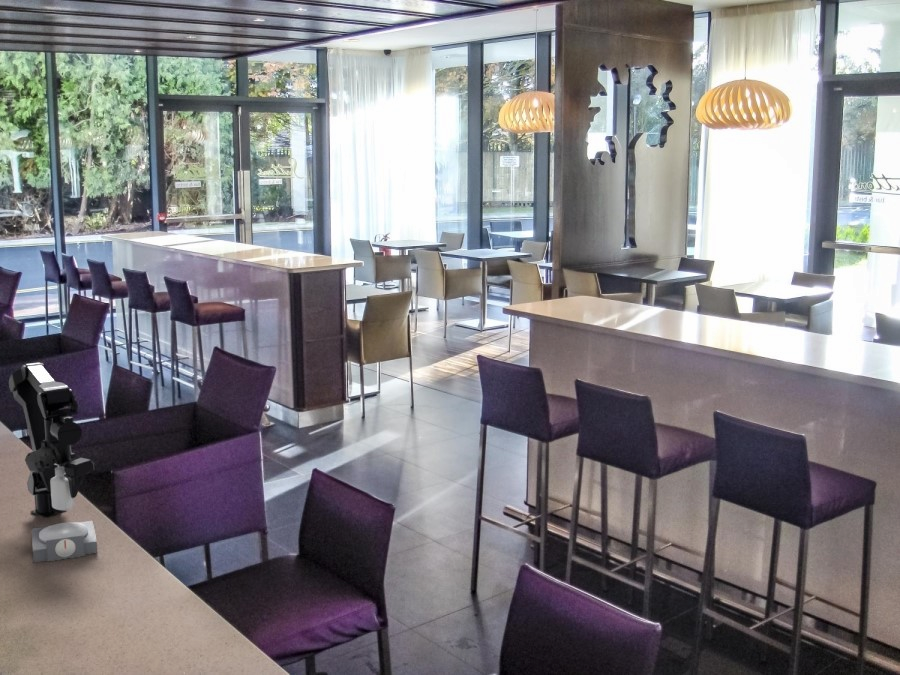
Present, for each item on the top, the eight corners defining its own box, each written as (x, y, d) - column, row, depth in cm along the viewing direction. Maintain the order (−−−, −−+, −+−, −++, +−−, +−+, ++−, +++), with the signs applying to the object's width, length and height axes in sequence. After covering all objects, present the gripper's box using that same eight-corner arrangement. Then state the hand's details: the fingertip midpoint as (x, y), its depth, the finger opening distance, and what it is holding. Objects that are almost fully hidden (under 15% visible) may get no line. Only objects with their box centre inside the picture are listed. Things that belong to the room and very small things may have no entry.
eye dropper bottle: (68, 502, 241) (65, 458, 238) (74, 509, 236) (71, 464, 234) (50, 506, 238) (47, 461, 236) (56, 513, 234) (53, 467, 231)
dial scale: (32, 540, 230) (31, 521, 229) (93, 531, 236) (92, 513, 235) (33, 564, 217) (32, 544, 216) (97, 554, 222) (96, 535, 221)
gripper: (4, 437, 231) (9, 497, 234) (56, 449, 222) (60, 511, 225) (43, 426, 241) (47, 484, 244) (93, 438, 232) (97, 497, 235)
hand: (61, 494), depth 237 cm, fingers closed on eye dropper bottle, 8 cm apart
